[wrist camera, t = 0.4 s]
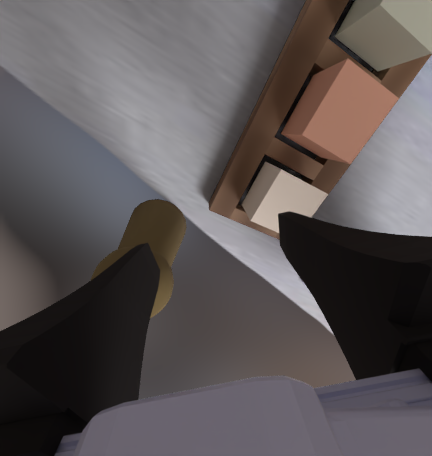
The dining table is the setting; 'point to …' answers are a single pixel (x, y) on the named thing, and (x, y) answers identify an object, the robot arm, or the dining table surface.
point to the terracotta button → (339, 112)
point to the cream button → (279, 197)
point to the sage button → (388, 31)
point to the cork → (153, 242)
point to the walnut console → (281, 102)
